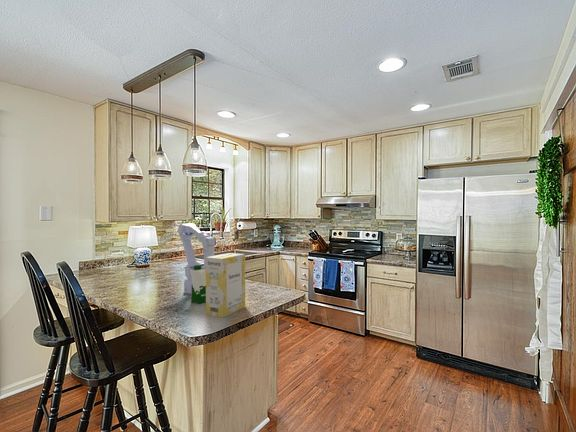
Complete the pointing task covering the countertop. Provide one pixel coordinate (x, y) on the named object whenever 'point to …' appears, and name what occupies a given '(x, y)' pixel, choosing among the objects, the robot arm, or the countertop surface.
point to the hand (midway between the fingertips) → (209, 280)
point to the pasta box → (225, 284)
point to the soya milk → (198, 284)
